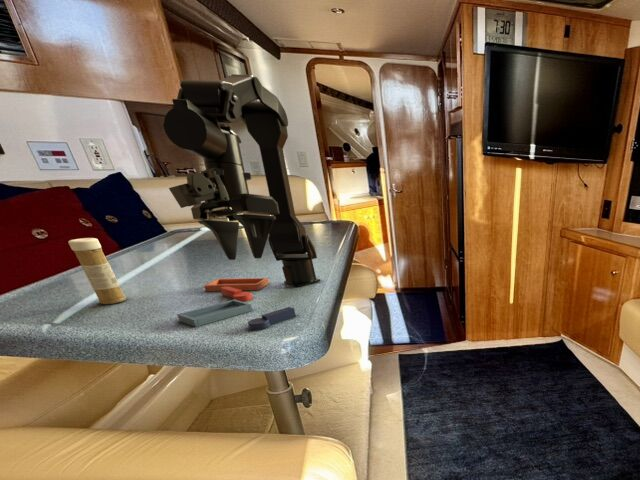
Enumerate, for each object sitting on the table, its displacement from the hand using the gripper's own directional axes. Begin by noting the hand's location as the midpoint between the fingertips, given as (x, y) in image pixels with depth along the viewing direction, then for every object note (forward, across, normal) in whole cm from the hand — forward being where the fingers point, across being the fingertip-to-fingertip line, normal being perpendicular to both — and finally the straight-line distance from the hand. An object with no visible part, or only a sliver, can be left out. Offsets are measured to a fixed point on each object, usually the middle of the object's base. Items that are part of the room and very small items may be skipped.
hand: (244, 259), depth 74 cm
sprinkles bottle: (+8, -41, -9) cm, 43 cm away
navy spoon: (+12, +1, +3) cm, 12 cm away
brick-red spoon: (+8, -22, +7) cm, 24 cm away
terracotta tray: (+6, -30, +12) cm, 33 cm away
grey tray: (+11, -13, -1) cm, 17 cm away
